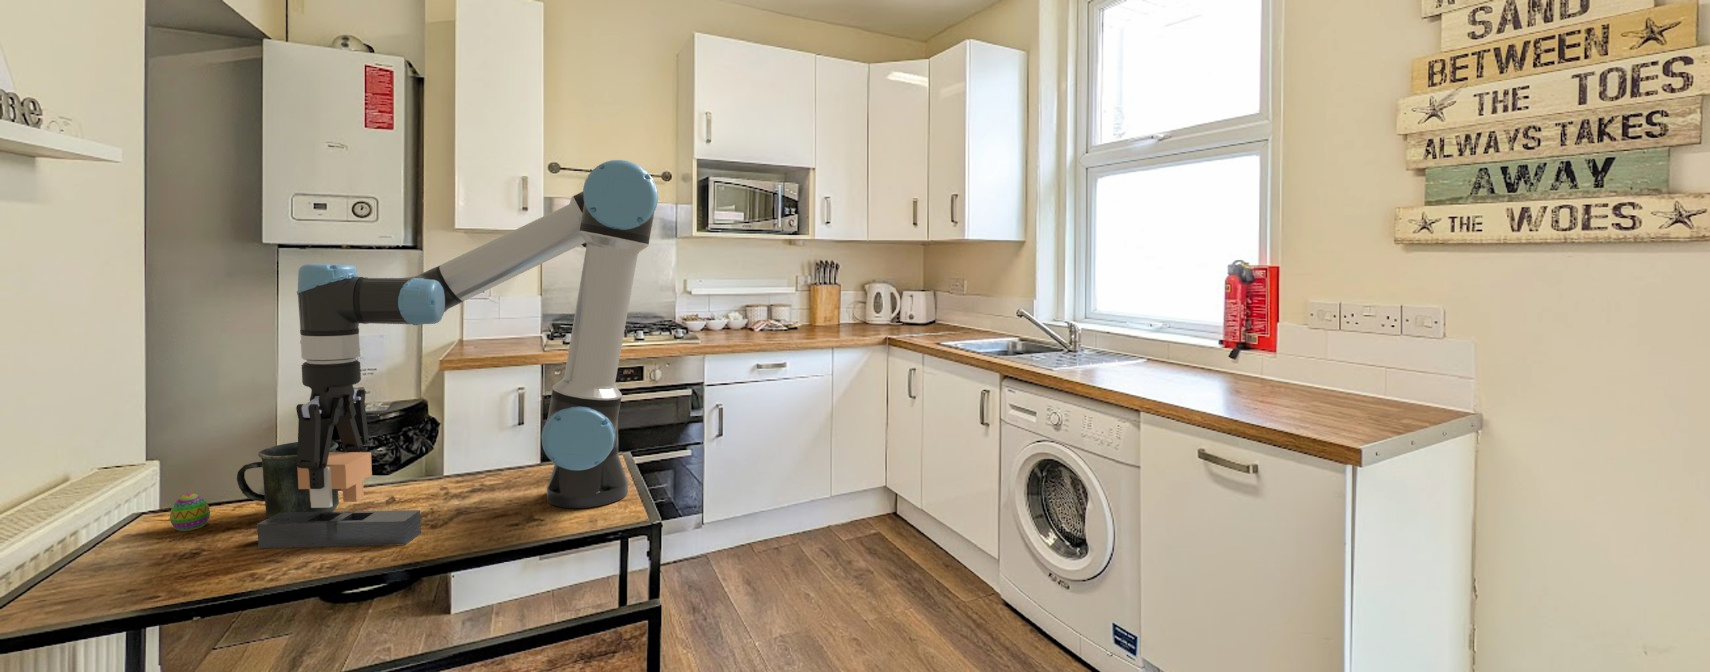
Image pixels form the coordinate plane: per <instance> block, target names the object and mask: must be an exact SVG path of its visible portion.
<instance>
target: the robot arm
mask: <svg viewBox="0 0 1710 672" xmlns="http://www.w3.org/2000/svg"><path fill="white" fill-rule="evenodd" d="M658 200H659V192H658V187H657V186H656V182H655V180H654V179H653V177H652V176H651V174H650V173H649V172H647V171H646V169H645V168H643V167H641V166H640V165H638V164H636V163H635V162H632V161H629V160H625V159H624V160H623V159H611V160H609V161H605V162H602V163H601V164H599V165H597V166H596V167H594V168H593V169H592V170H591V172H589V174H588V175H587V178H586V179H585V182H584V185H583V189H582V191H581V192H579V193H577V194H574V195H572V196H571V198H570V201H569V204H567V205H565V206H562V207H561V208H558V209H557V210H554V211H551V212H550V213H548V214H545V215H543V216H542V217H539V218H538V219H535V220H533V221H531V222H529V223H526V224H524V225H522V226H520V227H518V228H516V229H514V230H512V231H510V232H508V233H507V232H506V233H505V234H503V235H501V236H499V237H497V238H494V239H493V240H490V241H489V242H486V243H484V244H482V245H479V246H478V247H476V248H473V249H472V250H469V251H467V252H465V253H463V254H460V255H459V256H457V257H454V258H453V259H451V260H448V261H447V262H443V263H442V264H439V265H438V266H435V267H433V268H431V269H429V270H426V271H424V272H422V273H420V274H418V275H415V276H408V277H366V276H365V277H364V276H359V273H357V270H358V269H357V267H356V266H355V265H353V264H344V263H343V264H342V263H341V264H340V263H305V264H303V265H301V266H300V267H299V269H298V274H297V275H298V277H297V291H296V295H297V302H298V315H299V316H298V317H299V329H300V330H299V332H300V342H299V344H300V353H301V354H300V355H301V356H300V357H301V359H302V360H303V361H305V362H303V363H302V364H301V383H302V385H304V387H307V388H310V391H311V393H310V397H309V401H308V402H307V403H298V404H297V405H296V408H295V410H296V415H297V418H298V419H297V420H298V427H297V442H298V451H297V467H298V468H307V469H308V470H309V482H310V494H311V508H330V507H332V506H333V502H332V481H331V466H327V461H328V456H329V450H330V445H331V441H332V438H333V432H334V428H336V430H337V434H338V436H339V440H340V442H341V445H342V449H343V452H368V448H369V446H368V445H369V443H370V439H369V430H368V420H367V412H366V411H367V410H366V402H365V401H366V389H364V388H354V386H353V385H357V384H358V383H360V382H361V379H362V375H361V371H362V370H361V362H360V361H359V360H358V359H357V358H359V357H360V356H361V347H360V346H361V345H360V344H361V343H360V334H359V333H360V327H359V325H360V324H362V325H363V324H364V325H367V324H379V325H380V324H382V325H384V324H387V325H413V326H421V325H432V324H433V325H435V324H439V322H441V321H442V318H443V317H444V314H445V313H446V312H447V311H448V310H450V309H451V308H454V307H455V306H458V305H460V304H461V303H463V302H465V301H467V300H469V299H471V298H473V297H476V296H477V295H479V294H482V293H484V292H485V291H488V290H490V289H492V288H494V287H496V286H498V285H500V284H502V283H504V282H506V281H509V280H511V279H512V278H515V277H517V276H519V275H520V274H523V273H525V272H527V271H530V270H531V269H533V268H535V267H538V266H539V265H541V264H544V263H546V262H548V261H550V260H552V259H554V258H556V257H558V256H560V255H563V254H564V253H567V252H569V251H571V250H573V249H575V248H577V247H579V246H581V245H583V244H586V247H585V253H584V257H583V258H584V259H583V264H582V271H581V277H580V282H579V288H578V292H577V300H576V306H575V309H574V310H575V312H574V317H573V323H572V328H571V334H570V335H571V336H570V340H569V346H568V353H567V358H566V364H565V369H564V370H565V371H564V376H563V377H562V379H561V380H560V381H558V382H556V383H555V384H553V385H552V389H551V396H550V402H549V408H548V414H547V419H546V422H545V423H544V426H543V427H542V430H541V445H542V448H543V451H544V454H545V455H546V457H547V458H548V459H549V460H550V461H551V462H552V463H553V464H554V465H553V468H552V471H551V474H550V477H549V481H548V484H547V487H546V499H547V500H546V501H547V502H548V503H549V504H550V505H553V506H556V507H560V508H567V509H588V508H593V507H600V506H605V505H608V504H612V503H615V502H617V501H618V502H619V501H620V500H622V499H623V498H625V497H626V496H627V495H628V492H629V480H628V477H627V475H626V472H625V470H624V467H623V463H622V461H621V459H620V456H619V416H620V415H619V414H620V413H619V412H620V407H621V402H622V398H623V397H622V396H623V393H622V392H621V391H620V389H619V388H618V386H617V384H616V380H617V374H618V371H619V370H618V368H619V362H620V357H621V353H622V352H621V351H622V346H623V341H624V334H625V329H626V323H627V319H628V318H627V317H628V311H629V305H630V300H631V295H632V288H633V284H634V277H635V272H636V267H637V261H638V255H639V254H640V253H641V252H642V251H643V250H645V249H646V248H648V247H649V244H650V240H651V233H652V227H653V222H654V215H655V211H656V209H657V206H658ZM319 459H320V461H319ZM341 492H343V489H341Z"/></svg>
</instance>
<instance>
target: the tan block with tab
mask: <svg viewBox="0 0 1710 672" xmlns="http://www.w3.org/2000/svg"><path fill="white" fill-rule="evenodd" d="M319 461H320V459H319ZM327 466H331V481H332V489H338V490H342V489H343V491H342V500H343V501H342V502H344V503H345V502H347V503H352V502H353V503H357V502H359V501H361V500H362V499H364V498H365V497H364V496H365V495H364V494H365V492H364V490H365V489H364V480H367V479H368V478H370V477H372V475H373V471H372V470H373V469H372V468H373V467H372V452H371V451H370V452H368V451H366V452H347V451H336V452H329V456H328V461H327ZM297 468H298V467H297ZM298 488H299V489H309V491H310V482H309V470H308V469H307V468H298ZM310 502H311V494H310Z"/></svg>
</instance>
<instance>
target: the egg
mask: <svg viewBox="0 0 1710 672" xmlns="http://www.w3.org/2000/svg"><path fill="white" fill-rule="evenodd" d="M210 517H211V510H210V506H209V503H208V501H206V499H205V498H204V497H202V496H201V495H199V494H198V493H197V494H196V493H185V494H183V495H181V496H180V497H179V498H178V499H176V501H175V502H174V503H173V505H172V507H171V510H170V515H169V519H170V523H171V526H173V527H172V528H174V529H175V530H176V531H179V532H191V531H196V530H198V529H202V528H203V527H205V525H206V524H207V523H208V522H209V520H210ZM195 529H196V530H195Z"/></svg>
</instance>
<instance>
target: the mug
mask: <svg viewBox="0 0 1710 672" xmlns="http://www.w3.org/2000/svg"><path fill="white" fill-rule="evenodd" d="M338 447H339V444H338V442H335V441H332V440H331V445H330V450H329V452H337V451H336V449H337V448H338ZM297 451H298V441H296V442H295V441H294V442H288V443H282V444H278V445H273V446H270V447H266V448H264V449H262V450H260V451H259V452H258V457H259V458H260V459H261V461H255V462H252V463H248V464H244V465H243V466H241V468H240V469H239V470H238V471H237V474H236V482H237V485H238V488H239V489H240V491H241V493H242V494H243V495H244V496H245V497H246V498H247V499H250V500H252V501H258V502H264V507H265V516H266V517H267V519H268V518H270V517H272V516H274V515H276V514H278V513H288V512H334V510H336V508H337V507H338V506H339V503H340V501H339V500H340V499H339V489H332V502H333V506H332V507H330V508H311V502H310V491H309V489H299V488H298V468H297ZM256 468H257V469H259V468H262V476H263V477H262V480H263V492H264V493H263V494H261V493H257V492H255V491H254V490H253V489H252V488H251V487H250V486H249V484H248V482H247V480H246V477H245V472H246V471H247V470H251V469H256Z"/></svg>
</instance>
